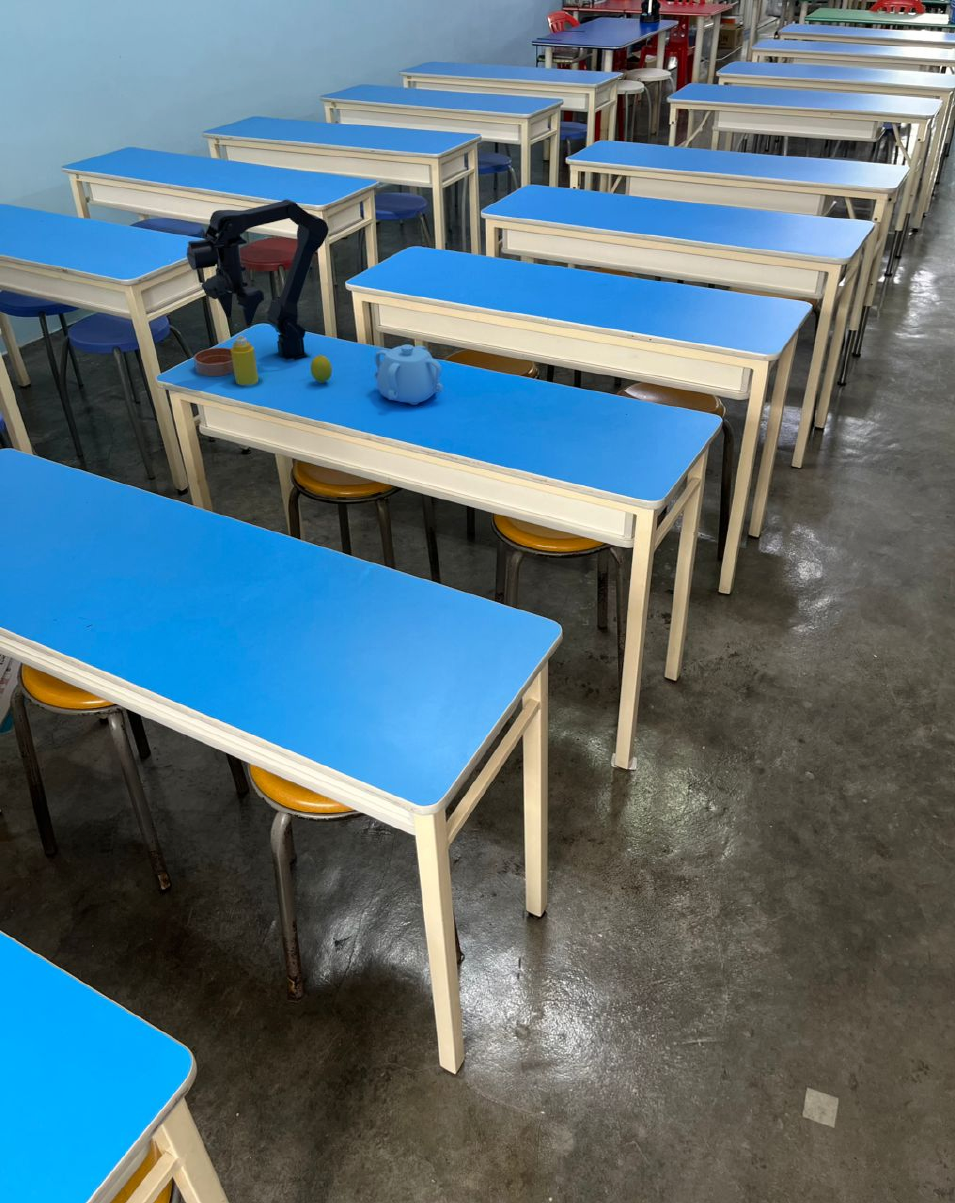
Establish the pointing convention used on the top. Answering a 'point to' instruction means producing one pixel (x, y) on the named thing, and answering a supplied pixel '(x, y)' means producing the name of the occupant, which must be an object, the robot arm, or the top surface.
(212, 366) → the bowl
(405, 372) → the decorative pot
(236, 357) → the mustard bottle
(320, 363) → the lemon
